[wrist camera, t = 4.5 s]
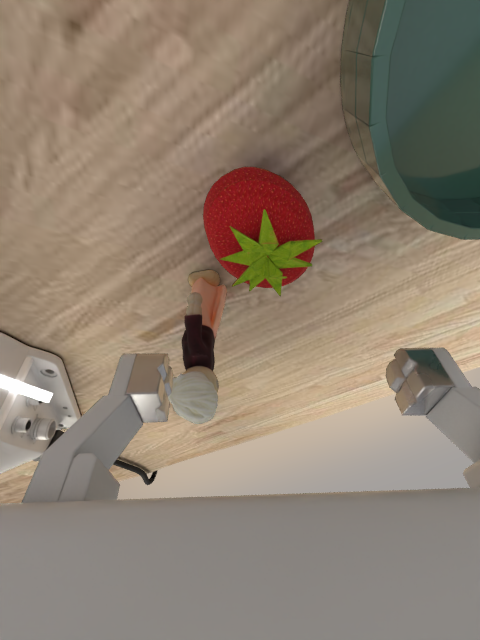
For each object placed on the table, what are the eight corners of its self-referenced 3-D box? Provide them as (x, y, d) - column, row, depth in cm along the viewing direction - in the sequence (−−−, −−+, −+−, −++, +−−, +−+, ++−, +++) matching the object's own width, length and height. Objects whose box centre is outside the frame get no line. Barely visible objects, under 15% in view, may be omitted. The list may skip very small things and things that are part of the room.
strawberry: (262, 114, 18) (286, 175, 11) (314, 213, 22) (356, 302, 15) (186, 174, 20) (165, 257, 13) (248, 253, 25) (257, 347, 17)
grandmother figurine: (234, 313, 29) (237, 442, 20) (195, 318, 30) (182, 447, 21) (217, 244, 24) (212, 378, 15) (170, 251, 24) (138, 387, 15)
